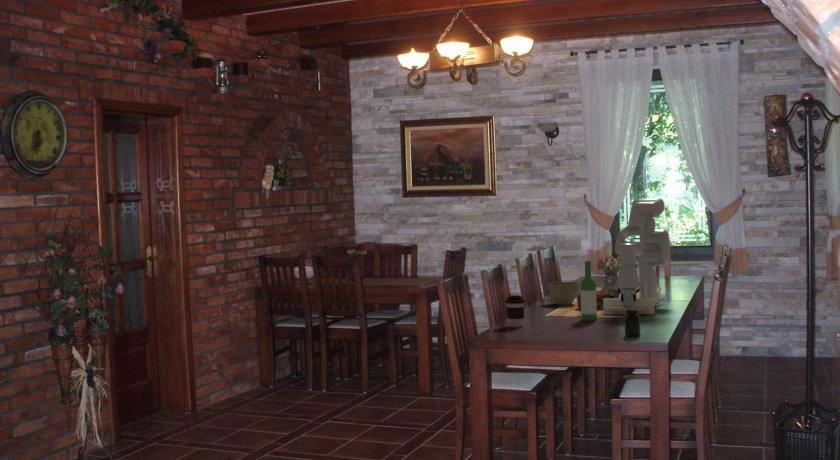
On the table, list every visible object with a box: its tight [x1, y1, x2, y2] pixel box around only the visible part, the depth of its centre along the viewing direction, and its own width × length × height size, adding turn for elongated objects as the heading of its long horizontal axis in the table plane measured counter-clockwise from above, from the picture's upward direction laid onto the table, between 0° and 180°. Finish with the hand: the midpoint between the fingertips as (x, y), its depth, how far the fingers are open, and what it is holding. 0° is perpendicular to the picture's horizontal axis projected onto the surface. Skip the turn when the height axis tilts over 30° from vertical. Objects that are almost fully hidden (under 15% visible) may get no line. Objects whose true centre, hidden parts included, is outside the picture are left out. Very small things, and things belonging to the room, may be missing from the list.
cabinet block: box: [623, 289, 634, 305], centre depth 437 cm, size 7×5×8 cm
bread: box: [576, 289, 616, 310], centre depth 466 cm, size 19×11×10 cm, turn 100°
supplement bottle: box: [623, 309, 641, 338], centre depth 377 cm, size 7×7×12 cm
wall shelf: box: [602, 298, 656, 315], centre depth 441 cm, size 11×26×8 cm, turn 76°
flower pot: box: [547, 281, 580, 306], centre depth 486 cm, size 18×18×12 cm
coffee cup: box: [504, 294, 526, 328], centre depth 414 cm, size 10×10×15 cm
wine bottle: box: [580, 260, 598, 322], centre depth 424 cm, size 8×8×30 cm
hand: (628, 301), depth 437 cm, fingers closed on cabinet block, 5 cm apart
